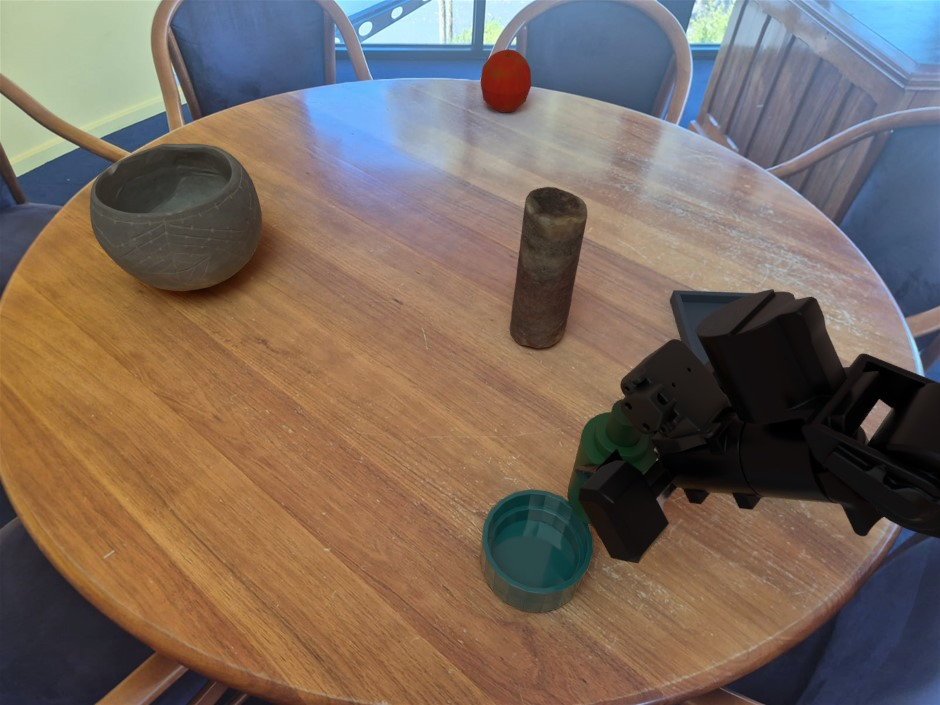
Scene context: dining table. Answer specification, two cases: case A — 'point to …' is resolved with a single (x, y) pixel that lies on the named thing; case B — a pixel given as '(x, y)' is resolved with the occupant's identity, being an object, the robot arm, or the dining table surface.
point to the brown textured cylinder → (547, 265)
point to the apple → (505, 80)
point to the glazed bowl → (535, 550)
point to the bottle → (609, 449)
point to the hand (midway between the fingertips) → (601, 449)
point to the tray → (697, 314)
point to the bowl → (177, 215)
